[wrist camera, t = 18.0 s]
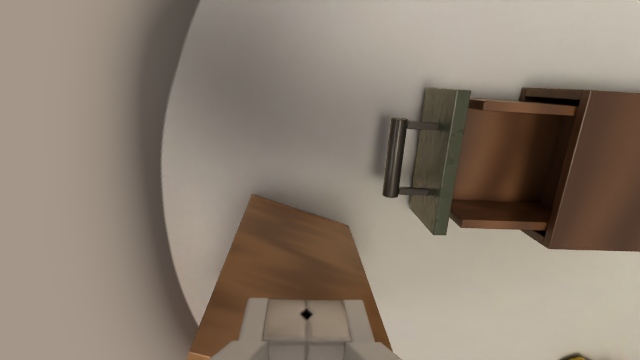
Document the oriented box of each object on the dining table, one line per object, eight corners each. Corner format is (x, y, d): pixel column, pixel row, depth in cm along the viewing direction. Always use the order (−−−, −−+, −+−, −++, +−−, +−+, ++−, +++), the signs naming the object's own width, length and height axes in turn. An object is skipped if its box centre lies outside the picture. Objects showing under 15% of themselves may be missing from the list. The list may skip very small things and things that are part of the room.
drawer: (370, 206, 37) (386, 233, 30) (383, 85, 33) (404, 86, 27) (538, 212, 38) (587, 240, 31) (566, 96, 35) (629, 100, 28)
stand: (222, 281, 39) (133, 519, 18) (252, 194, 36) (188, 351, 15) (314, 307, 41) (332, 553, 20) (348, 225, 38) (412, 406, 17)
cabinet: (494, 213, 39) (548, 249, 30) (521, 87, 35) (590, 89, 27) (624, 218, 40) (709, 253, 32) (663, 96, 36) (771, 101, 28)
